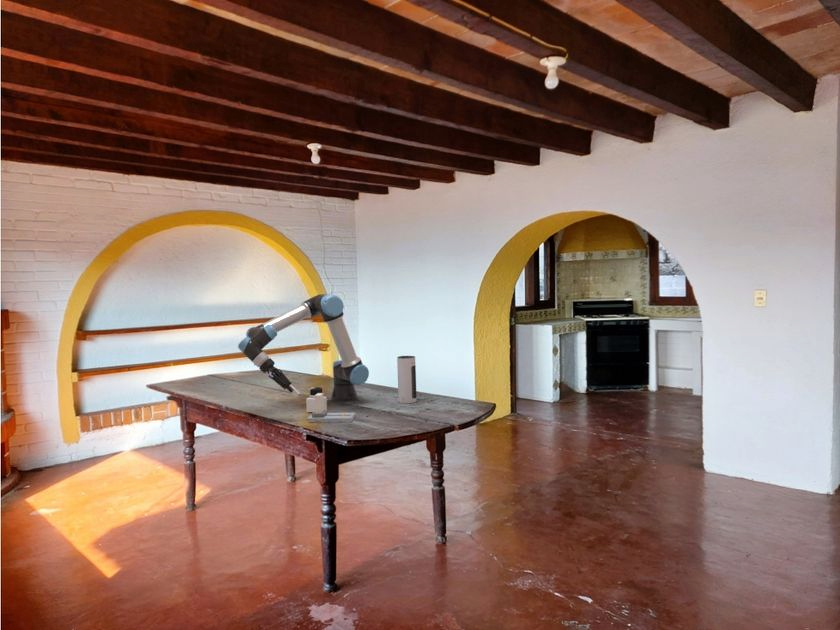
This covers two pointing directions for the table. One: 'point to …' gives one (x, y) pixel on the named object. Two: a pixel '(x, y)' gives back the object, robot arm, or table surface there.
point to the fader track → (334, 417)
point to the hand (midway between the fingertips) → (297, 395)
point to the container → (311, 400)
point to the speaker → (406, 379)
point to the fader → (319, 406)
